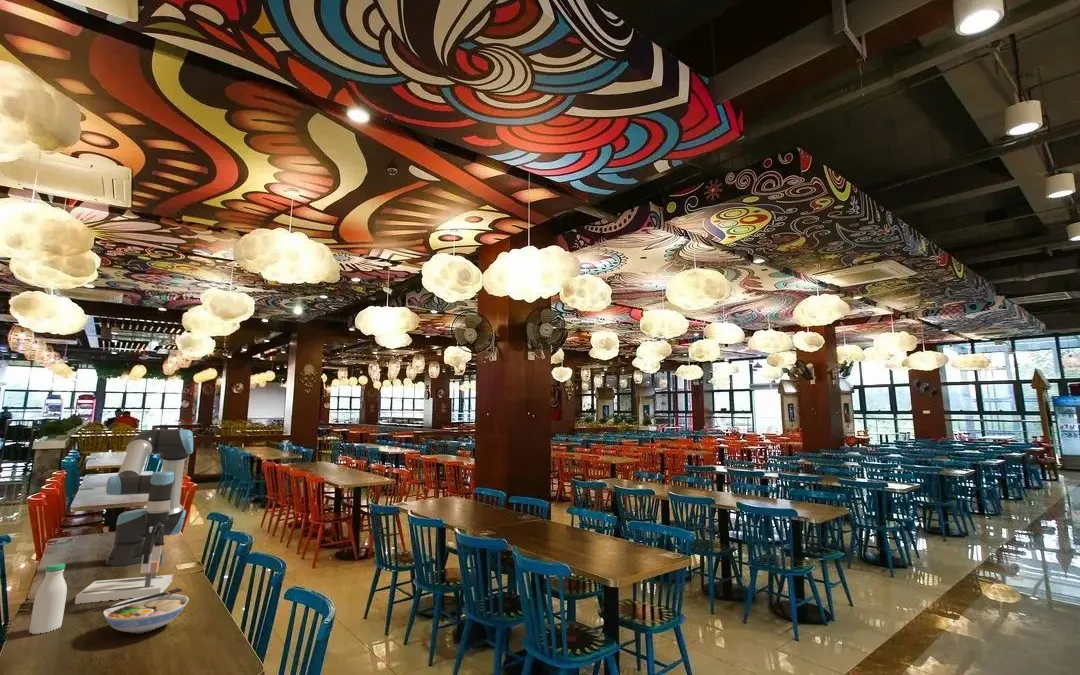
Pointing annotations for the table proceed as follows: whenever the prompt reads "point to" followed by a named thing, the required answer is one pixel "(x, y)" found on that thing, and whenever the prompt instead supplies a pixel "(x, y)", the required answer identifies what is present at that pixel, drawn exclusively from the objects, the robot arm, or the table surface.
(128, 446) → the robot arm
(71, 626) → the table surface
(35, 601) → the milk bottle
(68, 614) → the table surface
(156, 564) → the fader
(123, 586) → the fader panel
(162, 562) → the fader
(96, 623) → the table surface
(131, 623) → the ramen bowl
